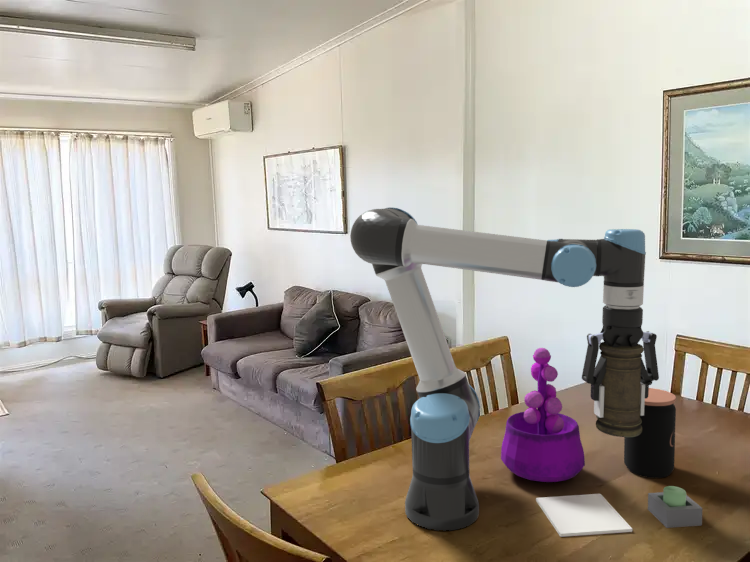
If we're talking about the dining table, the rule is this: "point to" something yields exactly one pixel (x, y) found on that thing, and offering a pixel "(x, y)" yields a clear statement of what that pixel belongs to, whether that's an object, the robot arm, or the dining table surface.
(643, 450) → the coffee jar
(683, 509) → the button housing
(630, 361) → the container
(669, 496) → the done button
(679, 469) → the dining table surface
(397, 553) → the dining table surface
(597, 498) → the paper sheet
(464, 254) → the robot arm
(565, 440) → the decorative plant
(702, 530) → the dining table surface
